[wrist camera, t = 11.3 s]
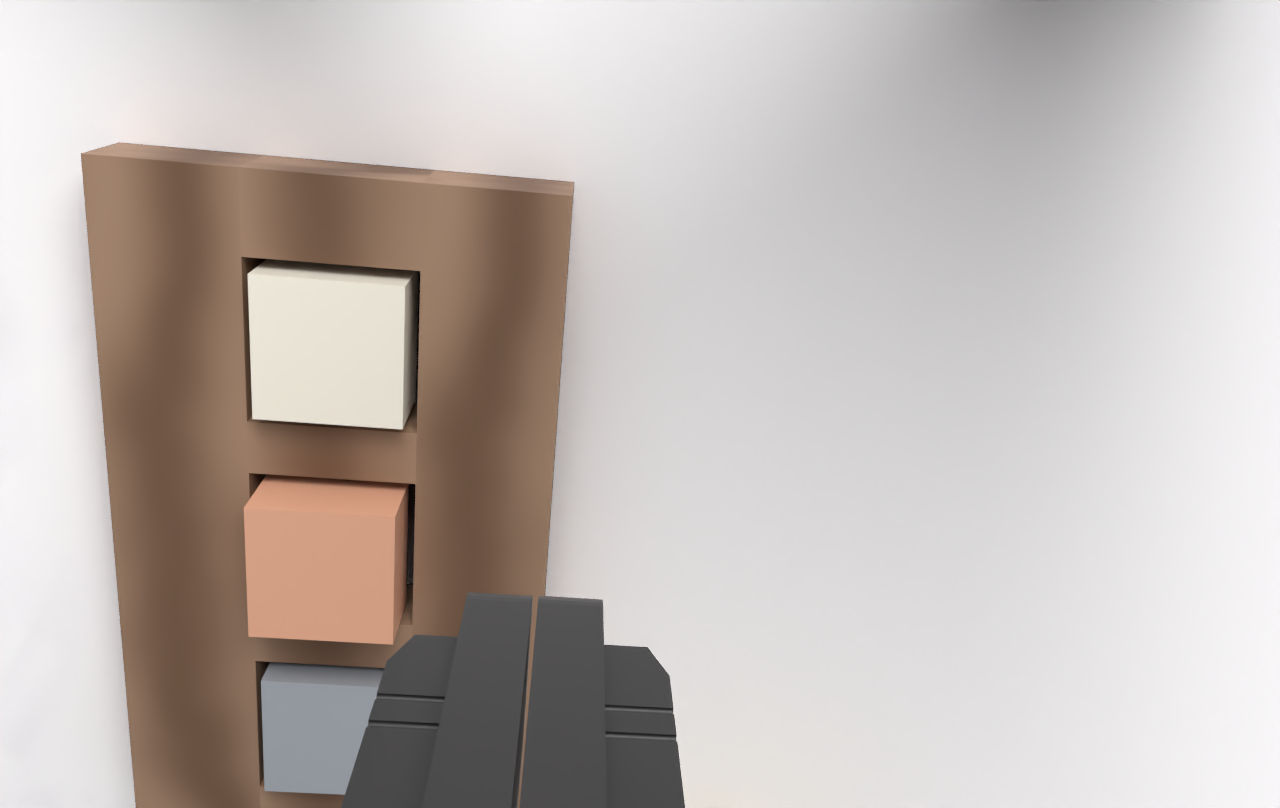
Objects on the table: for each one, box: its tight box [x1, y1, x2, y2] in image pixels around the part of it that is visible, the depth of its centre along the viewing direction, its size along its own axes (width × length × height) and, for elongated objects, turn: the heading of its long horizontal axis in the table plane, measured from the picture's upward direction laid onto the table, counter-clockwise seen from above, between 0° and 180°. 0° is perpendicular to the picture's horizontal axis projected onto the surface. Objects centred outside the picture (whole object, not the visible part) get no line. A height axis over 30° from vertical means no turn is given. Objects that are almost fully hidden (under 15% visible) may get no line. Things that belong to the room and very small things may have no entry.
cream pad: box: [248, 259, 418, 430], centre depth 38 cm, size 5×5×3 cm
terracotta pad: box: [244, 474, 409, 645], centre depth 40 cm, size 5×5×3 cm
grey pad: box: [261, 662, 384, 795], centre depth 44 cm, size 5×5×3 cm
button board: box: [81, 143, 574, 808], centre depth 42 cm, size 16×28×3 cm, turn 175°
